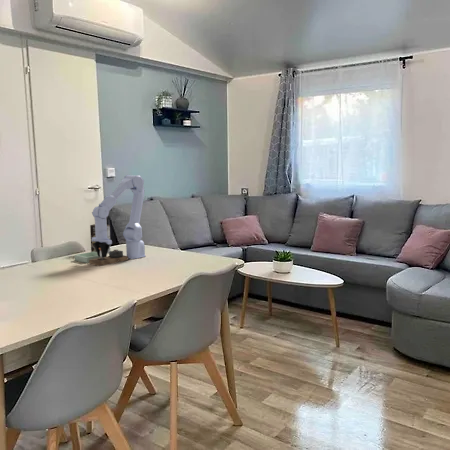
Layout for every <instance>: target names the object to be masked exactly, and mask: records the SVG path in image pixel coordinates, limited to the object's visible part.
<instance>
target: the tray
mask: <svg viewBox="0 0 450 450" xmlns="http://www.w3.org/2000/svg"><path fill="white" fill-rule="evenodd" d="M96 258H100V257H98V254H97V252H91V251H88V252H83V253H78V254H74V261H75V262H79V263H83V264H84V263H85V264H90V263H89V260H91V259H96Z"/></svg>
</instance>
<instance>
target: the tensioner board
mask: <svg viewBox="0 0 450 450" xmlns="http://www.w3.org/2000/svg"><path fill="white" fill-rule="evenodd" d="M128 260H129V258H128V256H127V255H124V252H123V250H119V249H113V250H110V252H109V253H108V256H106V257H105V260H100V258H96V259H91V260H89V263H88V264H90V265H94V266H97V267H98V266H99V267H100V266H105V265H110V264H115V263H119V262H120V263H121V262H125V261H128Z"/></svg>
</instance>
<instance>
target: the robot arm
mask: <svg viewBox="0 0 450 450" xmlns="http://www.w3.org/2000/svg"><path fill="white" fill-rule="evenodd" d="M120 180H121V181H120V182H119V184H118V185H117V187H116V188H115V189H114V190H113V192H112V193H111V195H110V194H108V195H106V196H105V197H103V198H104V199H103V200H102V201H101V202H100V203H99V204H98V206H95V207H94V208H93V210H92V212H91V214H92V216H93V218H94V224H95V235H96V237H93V238H92V241H95V243H93V245H94V247H95V248H96V251H97V254H98V257H100V250H99V247H100V248H101V253H102V257H103V258H104V257H107V255H108V253H107V252H108V249H109V246H110V247H111V245H112V244H113V241H112V239H111V238H110V239H108V238H107V225H108V224H107V223H108V222H107V218H108V216H109V215H110V211H111V210H112V209H113V207H114V206H115V205H116V204H117V199H119V197H120V196H121V195H122V194H124V192H125V191H127V190H130V191H131V192H132V194H133V196H132V203H131V207H130V208H131V209H130V214H129V222H128V223H127V224H126V225H125V228H124V229H123V232H122V235H123V238H124V240H125V245H126V246H125V249H126V256H128V260H134V259H135V260H137V259H140V258H145V257H147V256H146V251H145V245H146V244H145V242H144V241H143V231H142V230H143V228H142V226H141V224H140V222H141V216H142V211H143V205H144V199H145V187H144V183H145V180H144V179H143V178H142V176H141V175H139V174H138V175H137V174H136V175H135V174H133V175H132V174H126V175H125V176H124V177H123V178H122V179H120Z"/></svg>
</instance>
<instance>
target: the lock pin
mask: <svg viewBox="0 0 450 450" xmlns="http://www.w3.org/2000/svg"><path fill="white" fill-rule="evenodd" d="M99 250H100V260H105V257H104V258H103V257H102V253H101V248H100V247H99Z"/></svg>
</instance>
